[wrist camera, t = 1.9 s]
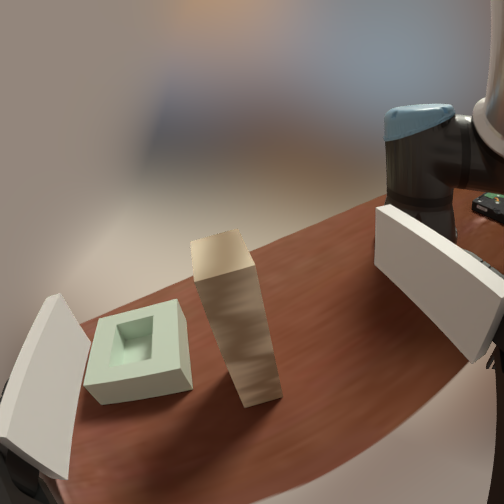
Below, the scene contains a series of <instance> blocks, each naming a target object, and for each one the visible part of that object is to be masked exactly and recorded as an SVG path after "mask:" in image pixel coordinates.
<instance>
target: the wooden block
mask: <svg viewBox="0 0 504 504" xmlns="http://www.w3.org/2000/svg"><path fill="white" fill-rule="evenodd" d="M190 243H191V255H192V264H193V275H194V283H195V285H196V288H197V291H198V294H199V296H200V299H201V302H202V305H203V307H204V310H205V313H206V315H207V318H208V321H209V323H210V326H211V328H212V331H213V334H214V336H215V339H216V341H217V344H218V346H219V349H220V351H221V354H222V356H223V359H224V361H225V364H226V366H227V368H228V371H229V373H230V376H231V378H232V380H233V383H234V385H235V387H236V390H237V392H238V394H239V397H240V399H241V401H242V403H243V406H244V408H246V407H250V406H254V405H257V404H261V403H264V402H268V401H271V400H274V399H277V398H281V397H283V394H282V389H281V385H280V380H279V375H278V371H277V366H276V361H275V356H274V352H273V347H272V342H271V338H270V333H269V328H268V323H267V319H266V314H265V309H264V305H263V300H262V295H261V290H260V286H259V281H258V276H257V272H256V267H255V264H254V262H253V260H252V257H251V255H250V253H249V251H248V249H247V247H246V245H245V243H244V240H243V238H242V236H241V234H240V232H239V230H238V229H234V230H230V231H227V232H223V233H219V234H216V235H213V236H209V237H205V238H202V239H198V240H195V241H191V242H190Z"/></svg>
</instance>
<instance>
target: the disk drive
mask: <svg viewBox="0 0 504 504" xmlns="http://www.w3.org/2000/svg"><path fill="white" fill-rule="evenodd" d="M472 210H474V211H476V212H479V213H481V214H483V215H485V216H488V217H490V218H492V219H494V220H496V221H499V222H501V223H503V224H504V195H500V194H495V193H488V192H486V193H484V194H483V195H481V196H479V197H478V198H476V199H474V200H473V201H472Z"/></svg>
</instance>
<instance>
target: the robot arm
mask: <svg viewBox="0 0 504 504" xmlns="http://www.w3.org/2000/svg"><path fill="white" fill-rule="evenodd" d="M384 130H385V131H384V133H385V136H384V138H383V139H384V141H385V146H386V168H387V170H386V172H387V197H386V201H385V204H384V206H381V207H377V208H376V229H375V259H374V265H375V266H377V267H378V268H379V269H380V270H381V271H382V272H383V273H384V274H385V275H386V276H387V277H388V278H389V279H390V280H391V281H392V282H393V283H395V284H396V285H397V286H398V287H399V288H400V289H401V290H402V291H403V292H404V293H405V294H406V295H407V296H408V297H409V298H410V299H411V300H412V301H413V302H414V303H415V304H416V305H417V306H418V307H419V308H420V309H421V310H422V311H423V312H424V313H425V314H426V315H427V316H428V317H429V318H430V319H431V320H432V321H433V322H434V323H435V324H436V325H437V327H438V328H439V329H440V330H441V331H442V332H443V333H444V334H445V335H446V336H447V337H448V338H449V339H450V340H451V341H452V343H453V344H454V345H455V346H456V347H457V348H458V349H459V350H460V351H461V352H462V353H463V355H464V356H465V357H466V358H467V359H468V360H469V361H470V362H471V364H473V363H474V362H476V361H477V360H478V359H480V358H481V357H482V356H483V355H485V354H486V352H487V350H488V348H489V346H490V344H491V342H492V341H493V342H494V343H495V344H496V347H495V349H494V351H493V353H492V355H491V357H490V358H489V360H488V362H487V365H486V369H489V367H490V365H491V364H492V362H493V360H494V361H495V363H494V365H493V367H492V369H495V373H496V392H497V425H496V445H495V455H494V464H493V472H492V479H491V485H490V490H489V496H488V501H487V504H504V275H502V274H501V273H500V272H498V271H497V270H496V269H494V268H493V267H492V268H491V266H490V265H489V264H488V263H486V262H485V261H484V262H483V260H482V259H481V258H479V257H478V256H477V255H475V254H474V253H472V252H469V251H467V250H464V249H462V248H459V247H458V246H457V245H456V243H457V229H456V227H455V219H454V212H453V206H452V200H453V189H454V188H459V189H467V190H475V191H481V192H488V193H495V194H500V195H504V0H491V51H490V64H489V74H488V83H487V91H486V97H485V98H483V99H481V100H480V101H478V102H477V104H476V105H475V106H474V109H473V116H466V115H457V114H455V110H454V108H453V106H452V105H448V104H421V105H410V106H402V107H397V108H393V109H391V110H389V111H388V112H387V113H386V114H385V117H384ZM90 344H91V342H90V340H89V339H88V337H87V336H86V334H85V333H84V331H83V329H82V328H81V326H80V325H79V323H78V322H77V320H76V318H75V317H74V315H73V313H72V312H71V310H70V309H69V307H68V305H67V303H66V302H65V300H64V298H63V296H62V295H61V293H59V294H56V295H52V296H49V297H47V298H46V300H45V302H44V304H43V306H42V308H41V310H40V312H39V314H38V315H37V317H36V319H35V321H34V323H33V325H32V327H31V329H30V332H29V334H28V336H27V338H26V340H25V342H24V344H23V347H22V349H21V351H20V354H19V356H18V358H17V361H16V363H15V366H14V368H13V370H12V373H11V376H10V378H9V379H8V381H7V382H6V384H5V386H4V389H3V392H2V397H1V398H0V504H57V502H56V500H55V499H54V497H53V495H52V494H51V492H50V490H49V488H48V487H47V485H46V483H45V482H44V481H43V479H41V478H40V477H39V471H41V472H42V473H44V474H45V475H47V476H49V477H50V478H54V479H62V480H68V471H69V460H70V450H71V442H72V434H73V427H74V421H75V415H76V409H77V403H78V398H79V393H80V388H81V383H82V378H83V373H84V369H85V365H86V360H87V356H88V352H89V348H90Z"/></svg>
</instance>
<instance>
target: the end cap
mask: <svg viewBox="0 0 504 504" xmlns="http://www.w3.org/2000/svg"><path fill="white" fill-rule="evenodd" d="M83 386H84V387H85V388H86V389H87V390H88V392H89V393H90V394H91V395H92V396H93V397H94V398H95V399H96V400H97V401H98V402H99V403H100V404H101V405H105V404H113V403H121V402H127V401H134V400H140V399H146V398H152V397H158V396H163V395H168V394H173V393H178V392H183V391H188V390H192V389H193V385H192V376H191V367H190V357H189V347H188V335H187V323H186V319H185V316H184V314H183V312H182V310H181V307H180V305H179V302H178V300H177V299H174V300H170V301H166V302H163V303H159V304H155V305H151V306H147V307H144V308H140V309H136V310H132V311H128V312H124V313H120V314H116V315H112V316H108V317H104V318H100V319H99V321H98V324H97V328H96V332H95V336H94V340H93V344H92V348H91V352H90V356H89V361H88V365H87V370H86V375H85V380H84V385H83Z"/></svg>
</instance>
